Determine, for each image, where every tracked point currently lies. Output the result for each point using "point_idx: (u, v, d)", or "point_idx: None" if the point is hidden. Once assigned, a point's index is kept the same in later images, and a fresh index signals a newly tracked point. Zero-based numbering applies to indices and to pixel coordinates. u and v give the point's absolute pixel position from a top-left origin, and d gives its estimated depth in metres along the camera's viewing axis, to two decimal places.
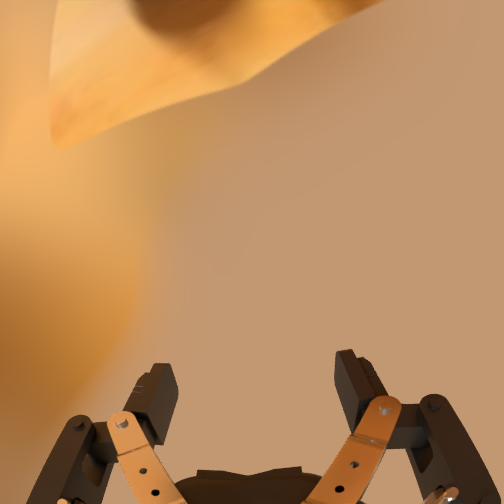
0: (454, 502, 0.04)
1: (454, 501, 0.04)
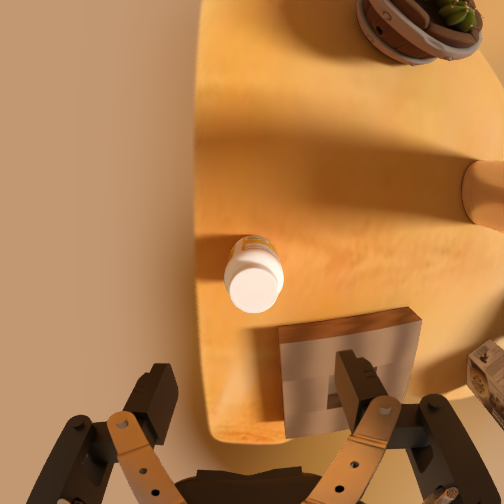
0: (454, 501, 0.04)
1: (454, 501, 0.04)
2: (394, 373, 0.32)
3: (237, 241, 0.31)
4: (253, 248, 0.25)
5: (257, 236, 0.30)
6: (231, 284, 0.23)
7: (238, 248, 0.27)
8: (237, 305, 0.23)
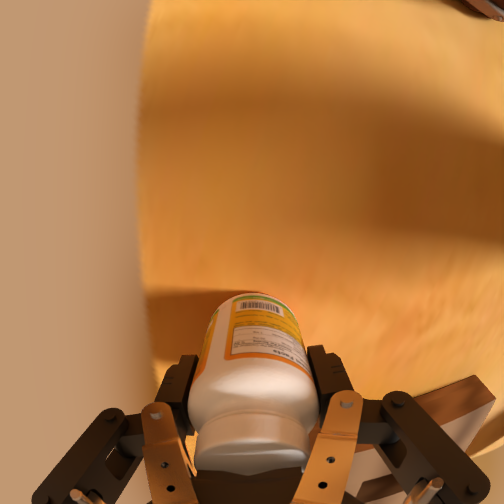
0: (441, 490, 0.04)
1: (441, 490, 0.04)
2: None
3: (221, 305, 0.16)
4: (252, 355, 0.10)
5: (261, 298, 0.15)
6: (197, 459, 0.07)
7: (219, 340, 0.12)
8: None
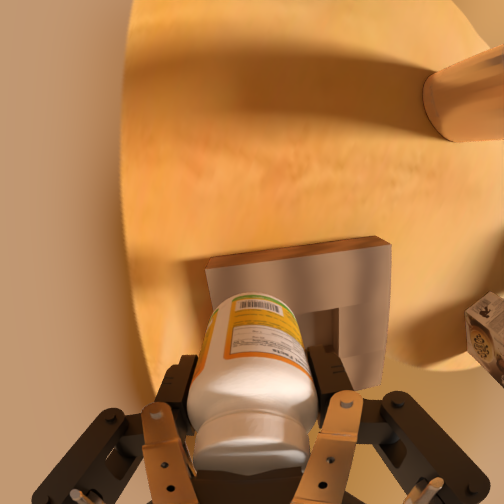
0: (441, 490, 0.04)
1: (441, 490, 0.04)
2: (364, 321, 0.27)
3: (221, 304, 0.16)
4: (252, 354, 0.10)
5: (260, 297, 0.15)
6: (197, 458, 0.07)
7: (218, 339, 0.12)
8: None
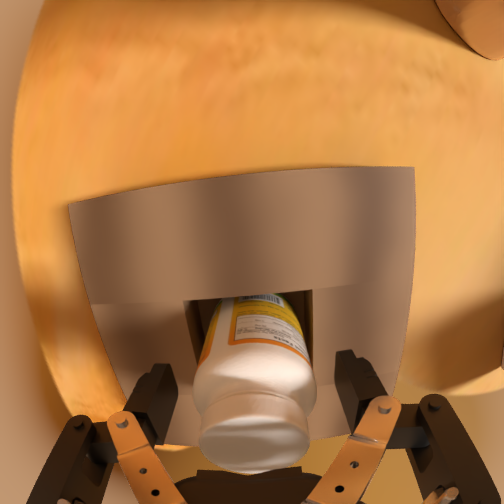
0: (454, 502, 0.04)
1: (454, 501, 0.04)
2: (364, 319, 0.14)
3: None
4: (254, 341, 0.11)
5: None
6: (202, 438, 0.08)
7: (223, 328, 0.13)
8: (219, 464, 0.09)
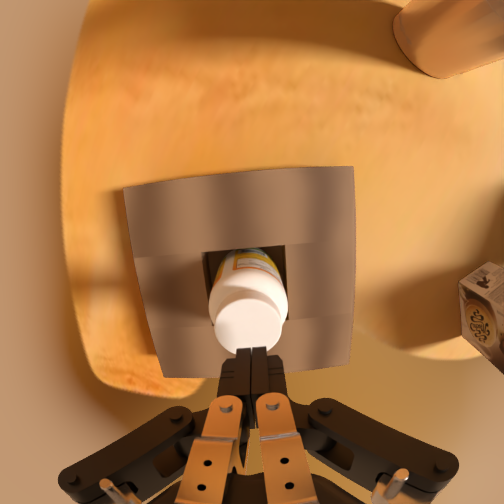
0: (408, 478, 0.05)
1: (407, 478, 0.05)
2: (322, 268, 0.22)
3: (228, 254, 0.24)
4: (248, 267, 0.19)
5: (253, 248, 0.24)
6: (217, 319, 0.16)
7: (228, 265, 0.20)
8: (225, 346, 0.16)
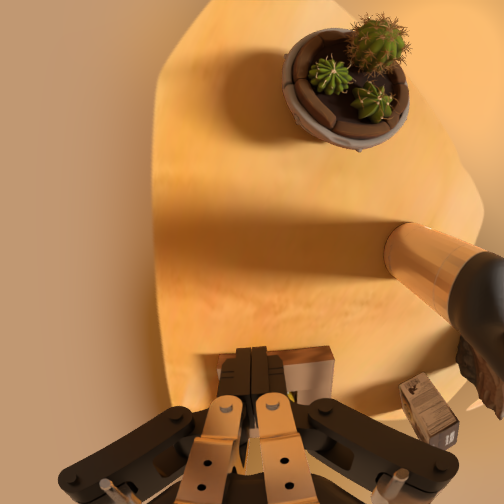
0: (408, 478, 0.05)
1: (408, 478, 0.05)
2: (314, 397, 0.42)
3: None
4: None
5: None
6: None
7: None
8: None
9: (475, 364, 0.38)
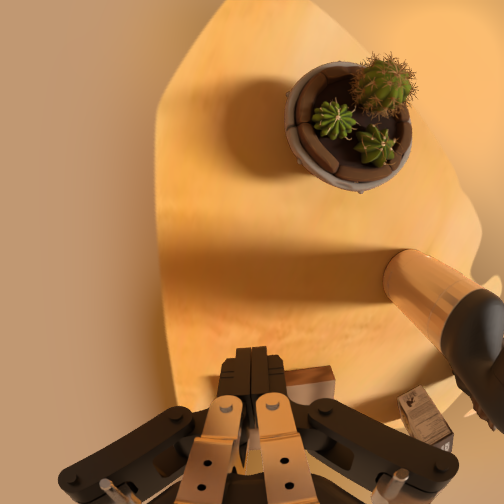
0: (408, 478, 0.05)
1: (407, 478, 0.05)
2: None
3: None
4: None
5: None
6: None
7: None
8: None
9: None
